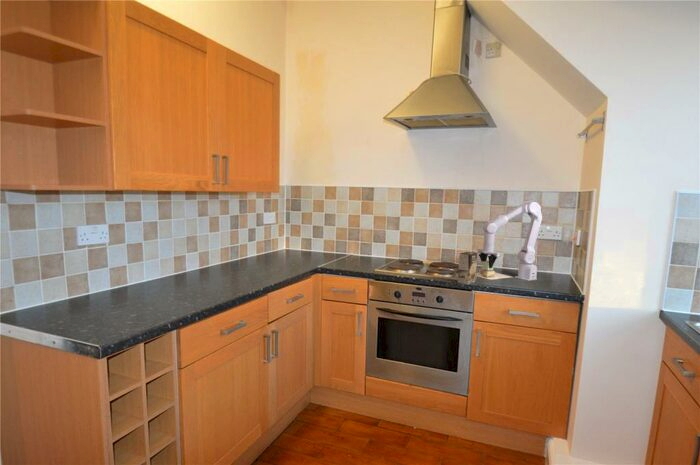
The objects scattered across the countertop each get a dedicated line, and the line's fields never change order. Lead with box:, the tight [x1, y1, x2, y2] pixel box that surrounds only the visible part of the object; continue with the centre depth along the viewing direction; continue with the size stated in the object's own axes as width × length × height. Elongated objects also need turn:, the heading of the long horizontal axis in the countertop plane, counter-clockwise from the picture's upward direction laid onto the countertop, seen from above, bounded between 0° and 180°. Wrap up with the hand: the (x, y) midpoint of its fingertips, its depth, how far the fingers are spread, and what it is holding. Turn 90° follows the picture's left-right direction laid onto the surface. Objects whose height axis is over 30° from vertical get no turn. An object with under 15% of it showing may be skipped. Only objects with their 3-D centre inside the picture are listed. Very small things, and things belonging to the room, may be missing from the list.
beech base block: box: [478, 268, 496, 279], centre depth 234 cm, size 6×6×4 cm
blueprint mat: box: [476, 272, 512, 281], centre depth 237 cm, size 16×19×1 cm
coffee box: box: [457, 251, 478, 286], centre depth 218 cm, size 9×6×16 cm
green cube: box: [481, 260, 495, 271], centre depth 233 cm, size 4×4×4 cm
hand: (487, 267), depth 233 cm, fingers closed on green cube, 4 cm apart
